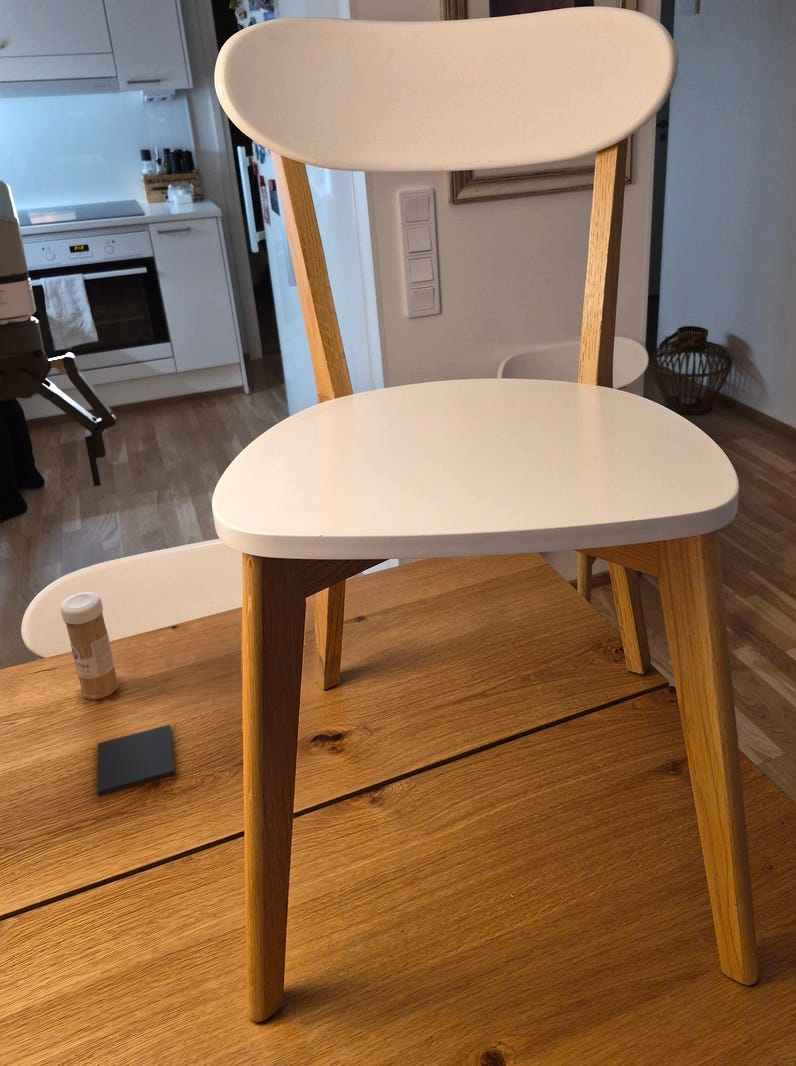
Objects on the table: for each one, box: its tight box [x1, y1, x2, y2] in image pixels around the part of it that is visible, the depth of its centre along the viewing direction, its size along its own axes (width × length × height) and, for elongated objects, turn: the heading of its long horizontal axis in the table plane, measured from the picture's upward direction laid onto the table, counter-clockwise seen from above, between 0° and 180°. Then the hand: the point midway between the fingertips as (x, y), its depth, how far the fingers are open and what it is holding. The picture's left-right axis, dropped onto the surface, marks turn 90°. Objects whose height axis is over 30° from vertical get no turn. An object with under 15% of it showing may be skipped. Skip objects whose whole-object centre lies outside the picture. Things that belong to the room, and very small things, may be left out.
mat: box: [97, 724, 176, 796], centre depth 97 cm, size 8×8×1 cm
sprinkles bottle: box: [59, 591, 120, 700], centre depth 106 cm, size 5×5×13 cm
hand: (37, 491), depth 104 cm, fingers open, 13 cm apart
